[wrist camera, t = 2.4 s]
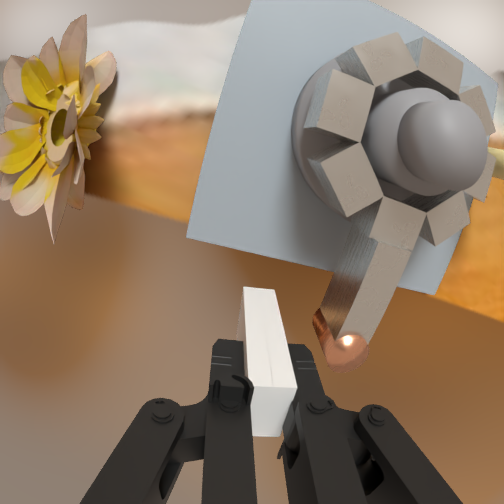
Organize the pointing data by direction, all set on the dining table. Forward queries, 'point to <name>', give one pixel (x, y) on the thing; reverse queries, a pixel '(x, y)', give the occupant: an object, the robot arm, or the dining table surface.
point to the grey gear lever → (368, 189)
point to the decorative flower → (52, 124)
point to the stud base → (262, 140)
